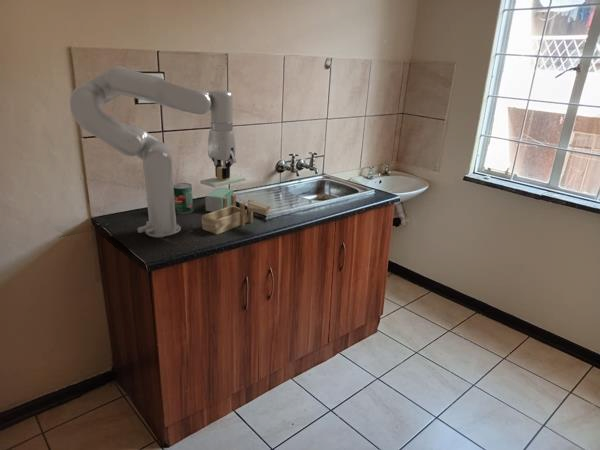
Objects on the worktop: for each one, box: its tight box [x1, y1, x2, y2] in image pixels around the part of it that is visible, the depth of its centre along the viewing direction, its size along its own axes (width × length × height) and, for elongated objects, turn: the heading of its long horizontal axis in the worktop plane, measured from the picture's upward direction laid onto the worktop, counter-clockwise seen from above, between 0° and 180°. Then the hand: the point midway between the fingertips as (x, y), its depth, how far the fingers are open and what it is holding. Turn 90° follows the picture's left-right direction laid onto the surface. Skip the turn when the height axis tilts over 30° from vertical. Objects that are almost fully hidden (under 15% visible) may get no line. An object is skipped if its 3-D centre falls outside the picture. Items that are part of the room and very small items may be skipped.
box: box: [204, 187, 235, 213], centre depth 191 cm, size 7×14×8 cm, turn 165°
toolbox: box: [201, 194, 254, 235], centre depth 171 cm, size 18×11×10 cm, turn 143°
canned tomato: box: [173, 182, 194, 215], centre depth 187 cm, size 8×8×11 cm
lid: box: [199, 166, 246, 188], centre depth 165 cm, size 16×8×6 cm, turn 143°
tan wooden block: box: [247, 200, 271, 216], centre depth 168 cm, size 2×9×3 cm, turn 53°
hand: (222, 176), depth 165 cm, fingers closed on lid, 2 cm apart
